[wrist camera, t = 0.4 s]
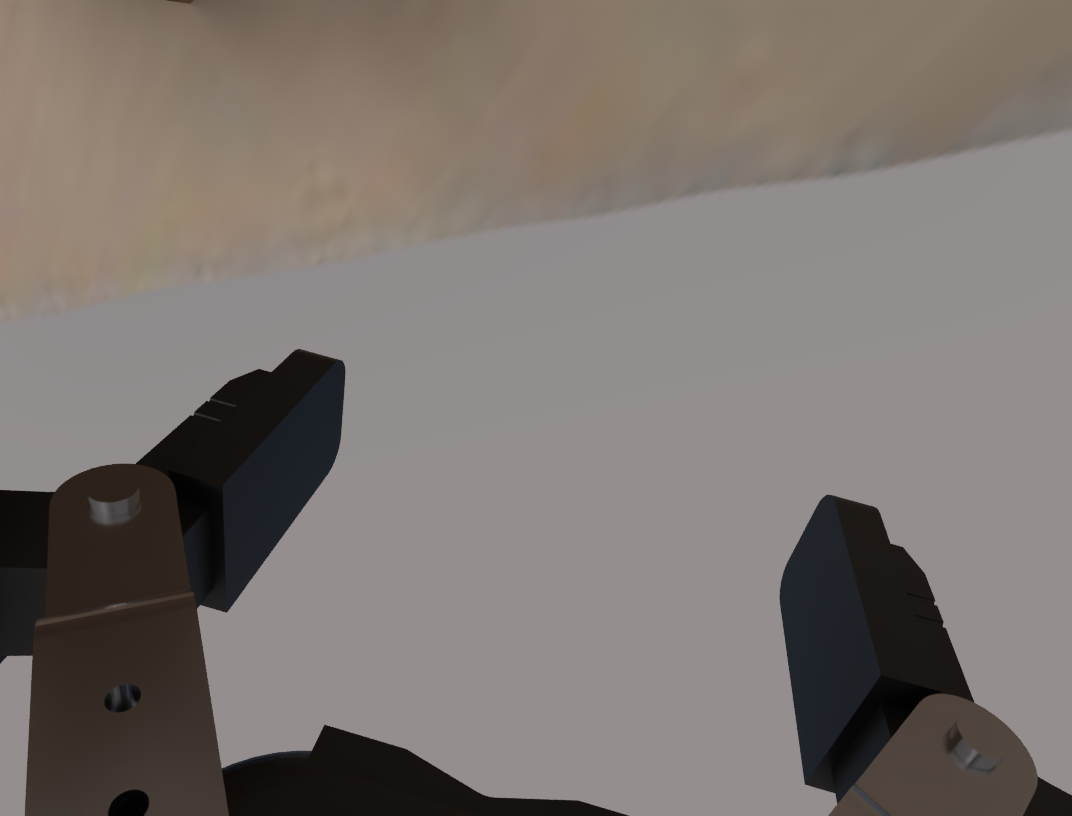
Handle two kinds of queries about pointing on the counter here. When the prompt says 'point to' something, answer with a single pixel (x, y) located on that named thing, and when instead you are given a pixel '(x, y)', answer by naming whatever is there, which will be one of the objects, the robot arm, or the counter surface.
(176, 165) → the counter surface
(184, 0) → the zigzag wood block
